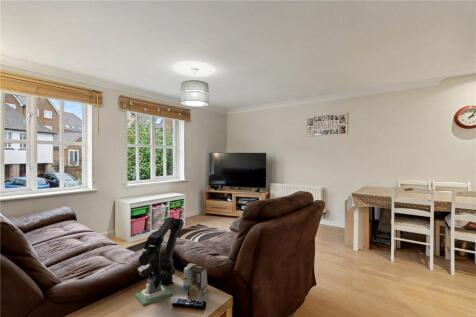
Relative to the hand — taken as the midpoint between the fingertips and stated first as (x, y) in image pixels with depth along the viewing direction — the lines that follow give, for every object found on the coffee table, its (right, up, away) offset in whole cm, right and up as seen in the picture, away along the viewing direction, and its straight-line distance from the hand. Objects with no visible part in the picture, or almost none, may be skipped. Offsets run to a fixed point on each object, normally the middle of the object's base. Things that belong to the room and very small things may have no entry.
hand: (154, 286), depth 133 cm
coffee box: (+24, -6, -2) cm, 25 cm away
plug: (0, -4, 0) cm, 4 cm away
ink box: (+18, -6, +10) cm, 21 cm away
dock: (0, -5, 0) cm, 5 cm away
